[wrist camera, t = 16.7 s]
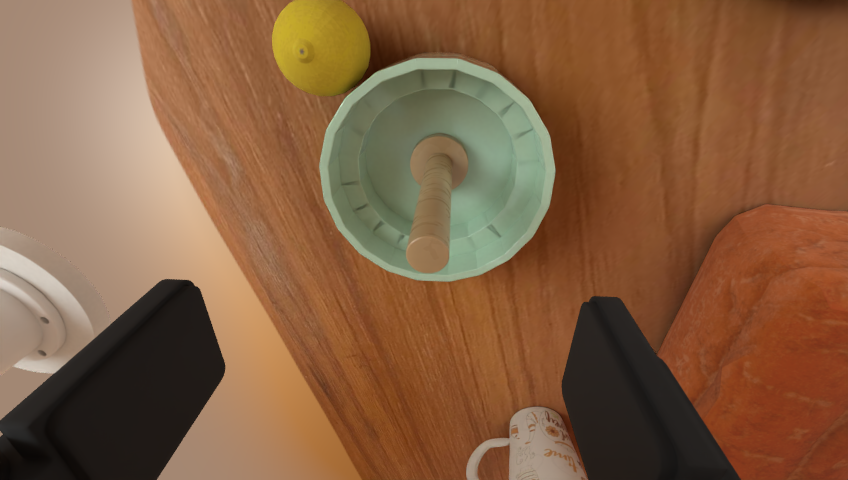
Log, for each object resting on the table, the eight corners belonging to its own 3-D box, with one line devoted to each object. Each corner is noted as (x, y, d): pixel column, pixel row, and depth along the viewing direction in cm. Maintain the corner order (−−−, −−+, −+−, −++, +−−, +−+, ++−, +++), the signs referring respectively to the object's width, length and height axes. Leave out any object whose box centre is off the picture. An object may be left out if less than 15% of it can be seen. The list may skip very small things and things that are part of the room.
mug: (578, 439, 46) (606, 537, 37) (475, 453, 49) (479, 546, 40) (566, 393, 42) (594, 489, 33) (456, 411, 45) (455, 503, 36)
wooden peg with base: (411, 187, 31) (381, 292, 19) (410, 132, 29) (377, 210, 17) (466, 189, 31) (472, 296, 18) (469, 133, 29) (479, 213, 16)
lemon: (361, 100, 29) (330, 125, 22) (291, 61, 28) (236, 74, 21) (393, 26, 26) (370, 26, 19) (318, -20, 25) (265, -37, 18)
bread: (922, 215, 30) (1130, 300, 21) (755, 431, 43) (837, 543, 34) (716, 198, 30) (829, 274, 21) (614, 417, 43) (656, 522, 34)
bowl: (352, 238, 35) (333, 276, 29) (333, 51, 27) (304, 57, 22) (523, 245, 34) (536, 286, 28) (552, 52, 26) (575, 59, 21)
